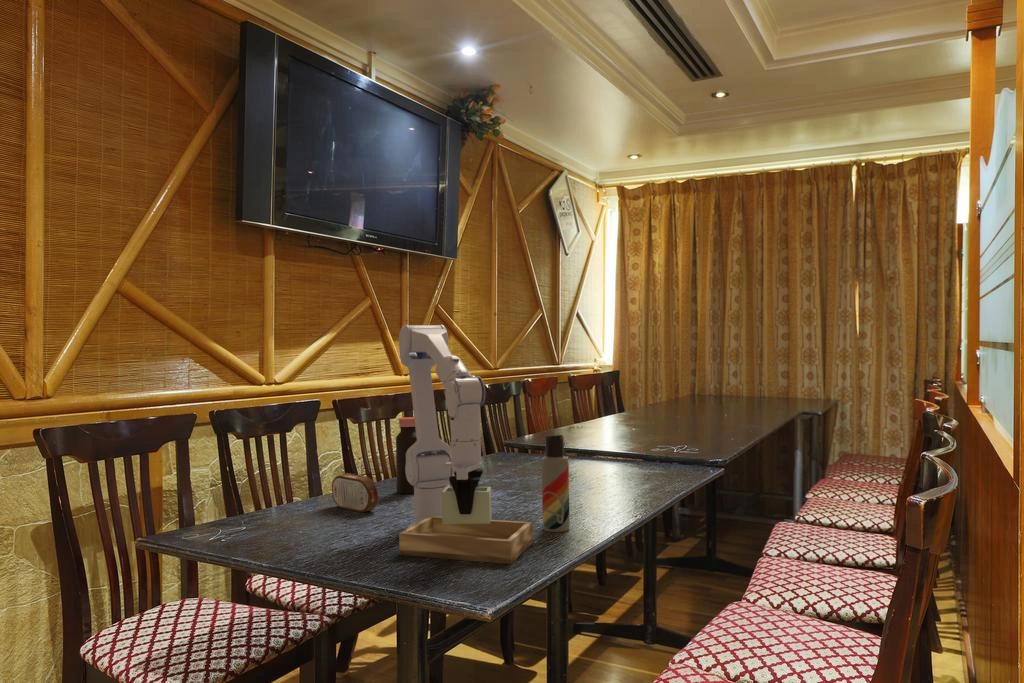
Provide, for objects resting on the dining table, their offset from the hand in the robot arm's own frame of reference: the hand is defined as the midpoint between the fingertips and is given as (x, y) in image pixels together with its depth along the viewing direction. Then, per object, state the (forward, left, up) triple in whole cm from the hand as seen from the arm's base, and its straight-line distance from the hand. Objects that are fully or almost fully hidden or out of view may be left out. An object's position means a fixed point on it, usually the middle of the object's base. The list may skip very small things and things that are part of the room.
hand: (467, 510), depth 134 cm
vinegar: (-46, -35, -8) cm, 58 cm away
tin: (-24, -39, -8) cm, 46 cm away
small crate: (0, 0, -2) cm, 2 cm away
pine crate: (0, 0, -7) cm, 7 cm away
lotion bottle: (-18, +13, -8) cm, 23 cm away
